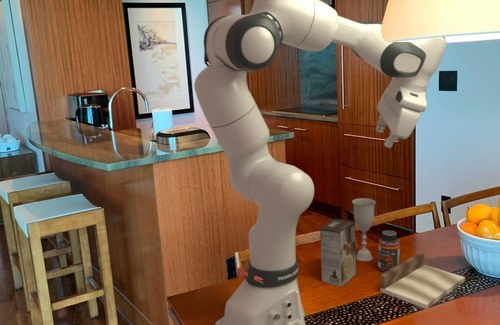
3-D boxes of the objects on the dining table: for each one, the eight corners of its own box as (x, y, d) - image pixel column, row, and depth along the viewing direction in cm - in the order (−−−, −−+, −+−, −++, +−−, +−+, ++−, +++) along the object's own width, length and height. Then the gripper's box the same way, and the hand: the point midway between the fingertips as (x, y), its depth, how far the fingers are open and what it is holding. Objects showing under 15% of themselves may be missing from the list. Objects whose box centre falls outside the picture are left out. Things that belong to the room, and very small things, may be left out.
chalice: (347, 256, 151) (347, 200, 147) (365, 251, 154) (365, 196, 150) (362, 264, 144) (362, 206, 140) (380, 259, 147) (380, 202, 143)
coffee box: (336, 269, 142) (335, 217, 139) (356, 274, 138) (356, 221, 135) (321, 282, 135) (319, 227, 132) (341, 287, 131) (341, 231, 128)
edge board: (426, 309, 118) (426, 291, 117) (380, 291, 128) (380, 275, 127) (464, 281, 131) (465, 264, 130) (420, 267, 140) (420, 251, 139)
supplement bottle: (377, 273, 138) (377, 235, 136) (378, 264, 144) (378, 228, 142) (399, 274, 137) (399, 236, 134) (399, 265, 142) (399, 229, 140)
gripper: (384, 75, 132) (364, 120, 138) (404, 101, 113) (380, 152, 120) (405, 82, 132) (384, 126, 139) (429, 109, 114) (403, 158, 120)
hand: (382, 138), depth 129 cm, fingers open, 8 cm apart
